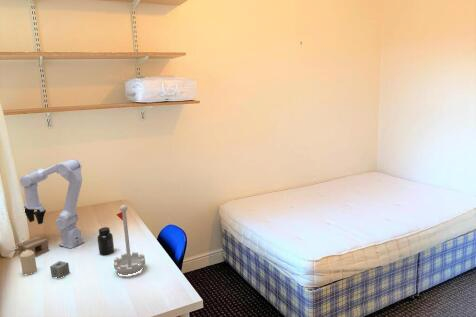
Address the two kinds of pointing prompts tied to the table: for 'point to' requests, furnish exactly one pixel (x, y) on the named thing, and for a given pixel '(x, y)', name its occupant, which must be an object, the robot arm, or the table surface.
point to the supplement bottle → (105, 241)
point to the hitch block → (34, 246)
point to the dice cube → (59, 269)
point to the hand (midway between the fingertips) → (36, 222)
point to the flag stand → (128, 252)
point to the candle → (28, 262)
